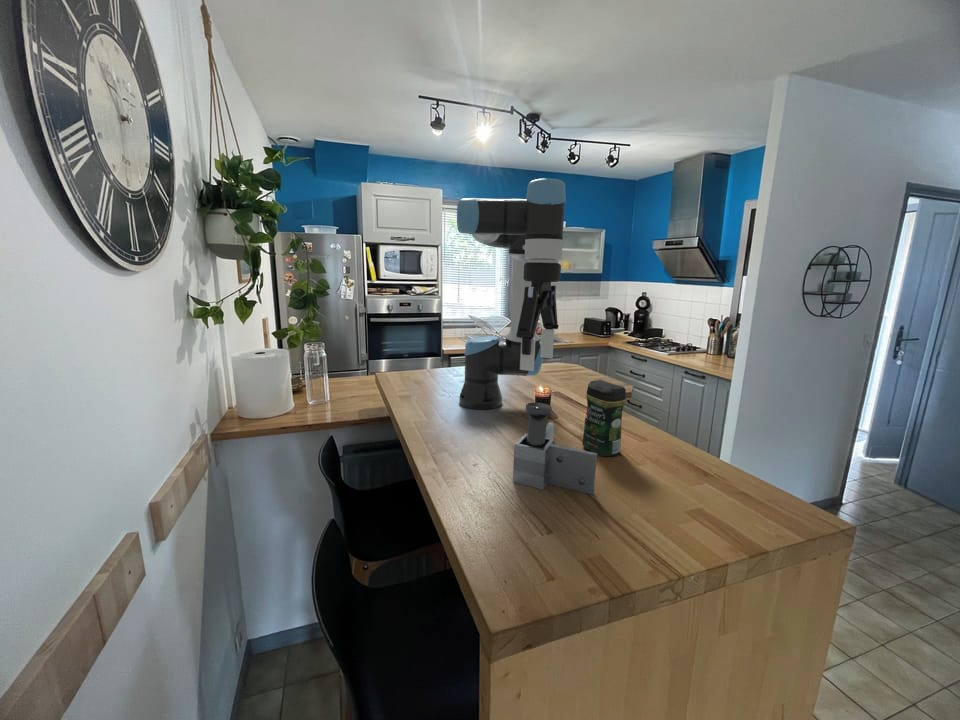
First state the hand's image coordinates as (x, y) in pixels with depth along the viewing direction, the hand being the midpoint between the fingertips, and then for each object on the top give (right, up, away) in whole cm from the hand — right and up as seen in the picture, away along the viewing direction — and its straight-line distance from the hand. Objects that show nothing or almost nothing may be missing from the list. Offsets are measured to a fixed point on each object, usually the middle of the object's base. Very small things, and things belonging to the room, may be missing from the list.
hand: (537, 363), depth 89 cm
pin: (0, -26, +5) cm, 27 cm away
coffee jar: (+20, -23, +21) cm, 37 cm away
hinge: (+6, -26, +7) cm, 28 cm away
